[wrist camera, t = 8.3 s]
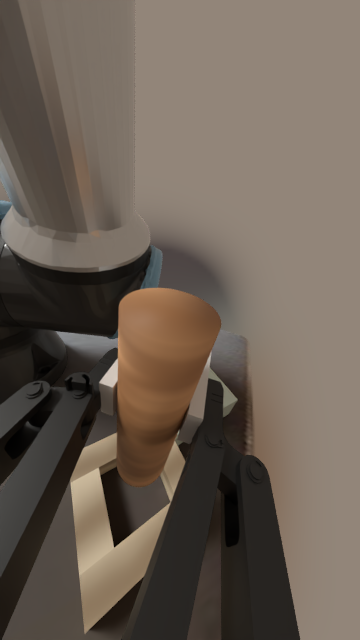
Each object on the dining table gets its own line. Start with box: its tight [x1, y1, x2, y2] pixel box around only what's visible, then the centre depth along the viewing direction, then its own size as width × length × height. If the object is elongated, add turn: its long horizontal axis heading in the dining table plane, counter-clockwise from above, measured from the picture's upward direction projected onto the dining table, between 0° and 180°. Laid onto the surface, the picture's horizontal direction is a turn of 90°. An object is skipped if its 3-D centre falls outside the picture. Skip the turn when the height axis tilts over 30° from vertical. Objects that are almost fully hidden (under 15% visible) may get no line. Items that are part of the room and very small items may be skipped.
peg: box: [116, 288, 221, 487], centre depth 11 cm, size 4×4×14 cm
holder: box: [70, 433, 185, 633], centre depth 19 cm, size 11×11×2 cm
